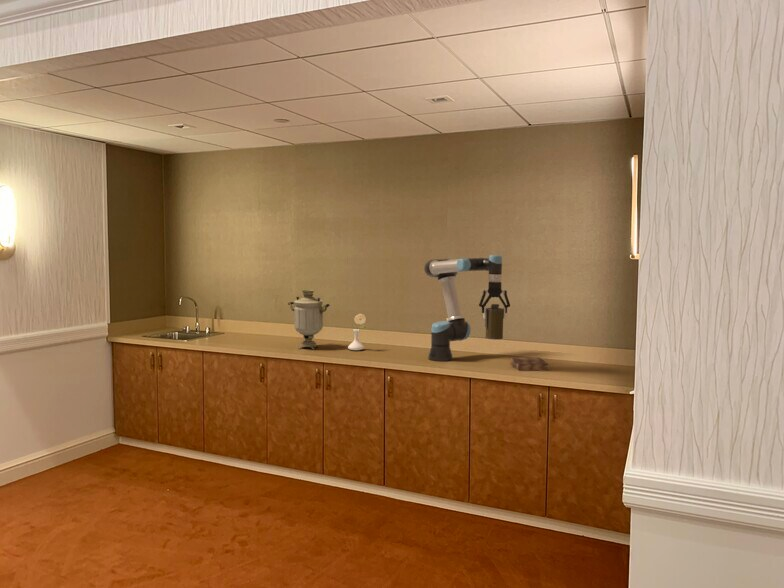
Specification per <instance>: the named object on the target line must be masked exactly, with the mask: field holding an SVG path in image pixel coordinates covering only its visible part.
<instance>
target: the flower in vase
mask: <svg viewBox="0 0 784 588" xmlns="http://www.w3.org/2000/svg"><path fill="white" fill-rule="evenodd" d="M353 320H354V322H355V324H357V325H358V327H357V326H356V325H353V324H352V326H353V327H354V328H355V329H352V332H353V336H354V340H353V341H352V342H351V343H350V344H349V345H348V346H347V349H348V350H350V351H362V350H364V349H365V348H366V347H365V346H364V344H363V343H361V342H360V341H359V332H360V329H364V328H366V326H365V325H364V324H366V321H367V317H366V316H365V314H363V313H358V314H357V315H355V317H354V319H353ZM359 328H360V329H359Z"/></svg>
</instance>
